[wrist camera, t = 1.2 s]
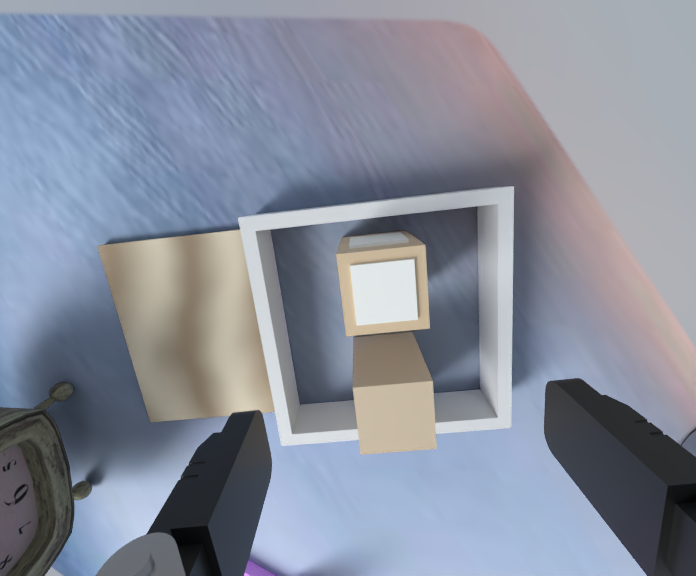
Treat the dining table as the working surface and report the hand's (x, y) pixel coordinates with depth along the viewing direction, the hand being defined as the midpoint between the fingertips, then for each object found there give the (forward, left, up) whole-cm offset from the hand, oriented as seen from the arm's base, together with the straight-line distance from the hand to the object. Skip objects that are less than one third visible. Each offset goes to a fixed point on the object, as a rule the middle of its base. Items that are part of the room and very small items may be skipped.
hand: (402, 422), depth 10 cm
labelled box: (0, -1, -19) cm, 19 cm away
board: (+15, +3, -19) cm, 24 cm away
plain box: (0, +8, -19) cm, 20 cm away
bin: (0, +3, -19) cm, 19 cm away
